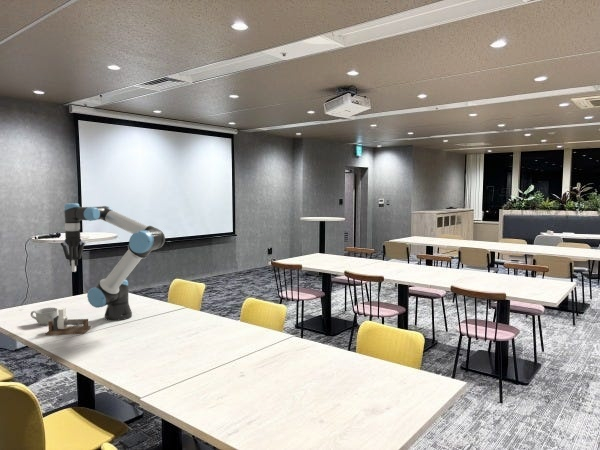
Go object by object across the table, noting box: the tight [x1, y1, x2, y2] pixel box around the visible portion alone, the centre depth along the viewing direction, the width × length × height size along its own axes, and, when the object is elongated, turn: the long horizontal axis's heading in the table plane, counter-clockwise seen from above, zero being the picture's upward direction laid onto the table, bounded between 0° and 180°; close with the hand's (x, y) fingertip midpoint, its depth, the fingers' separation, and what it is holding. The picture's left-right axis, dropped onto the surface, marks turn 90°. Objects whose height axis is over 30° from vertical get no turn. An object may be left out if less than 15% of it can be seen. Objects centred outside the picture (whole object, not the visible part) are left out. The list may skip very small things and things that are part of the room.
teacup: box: [30, 307, 59, 326], centre depth 243 cm, size 14×11×8 cm
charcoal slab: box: [54, 316, 59, 330], centre depth 229 cm, size 2×6×6 cm, turn 8°
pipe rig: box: [44, 318, 92, 336], centre depth 230 cm, size 19×11×6 cm, turn 98°
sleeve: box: [57, 307, 68, 329], centre depth 229 cm, size 3×6×10 cm, turn 8°
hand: (74, 271), depth 246 cm, fingers closed
